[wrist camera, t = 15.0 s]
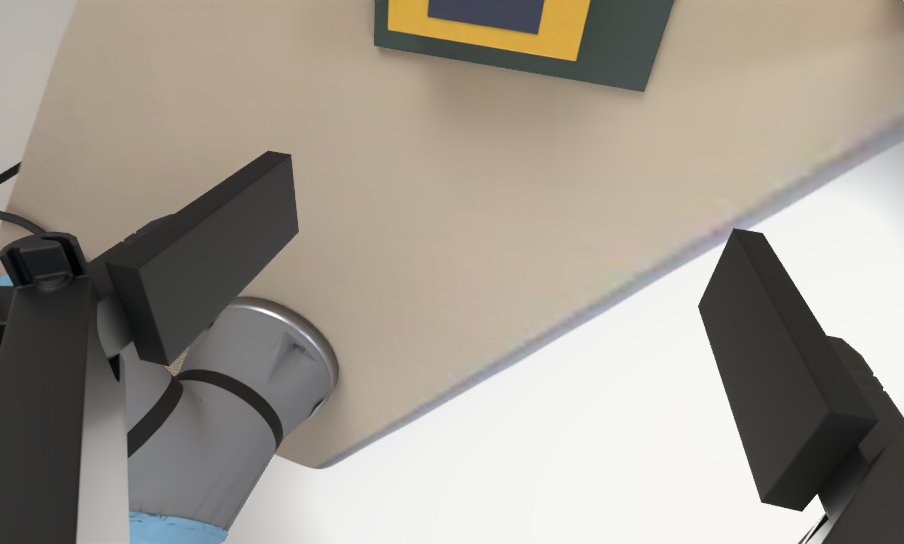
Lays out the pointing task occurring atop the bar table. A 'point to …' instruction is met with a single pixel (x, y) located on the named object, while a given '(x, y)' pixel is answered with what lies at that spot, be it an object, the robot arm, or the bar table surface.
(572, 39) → the yellow box with panel
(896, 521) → the robot arm
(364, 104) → the bar table surface
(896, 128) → the bar table surface
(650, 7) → the desk mat
